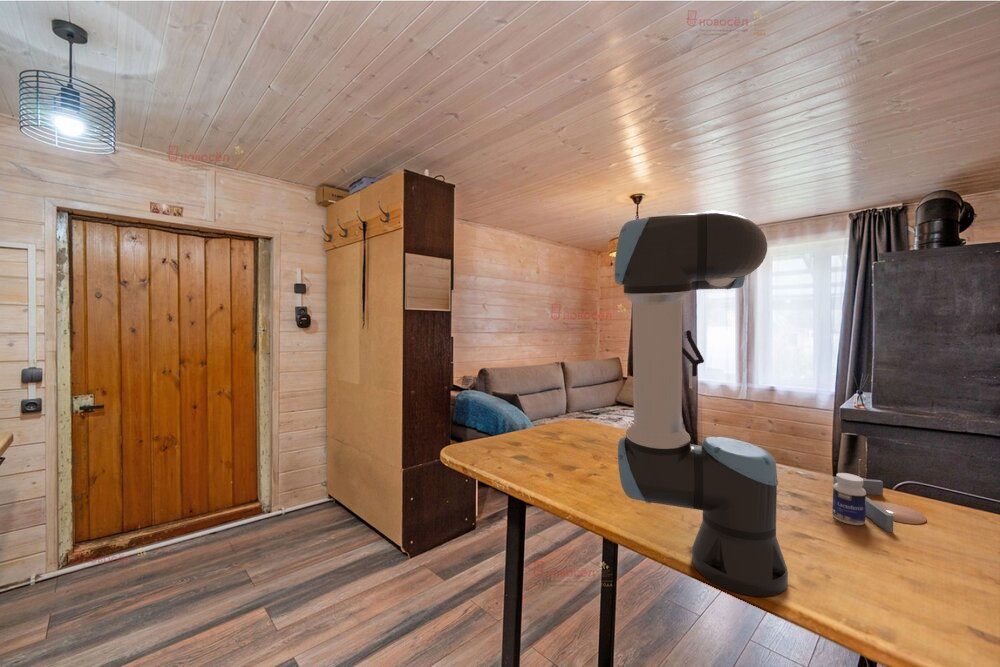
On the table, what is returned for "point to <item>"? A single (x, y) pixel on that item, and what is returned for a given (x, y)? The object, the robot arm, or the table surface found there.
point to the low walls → (872, 508)
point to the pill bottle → (849, 499)
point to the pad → (903, 513)
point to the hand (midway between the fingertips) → (665, 386)
